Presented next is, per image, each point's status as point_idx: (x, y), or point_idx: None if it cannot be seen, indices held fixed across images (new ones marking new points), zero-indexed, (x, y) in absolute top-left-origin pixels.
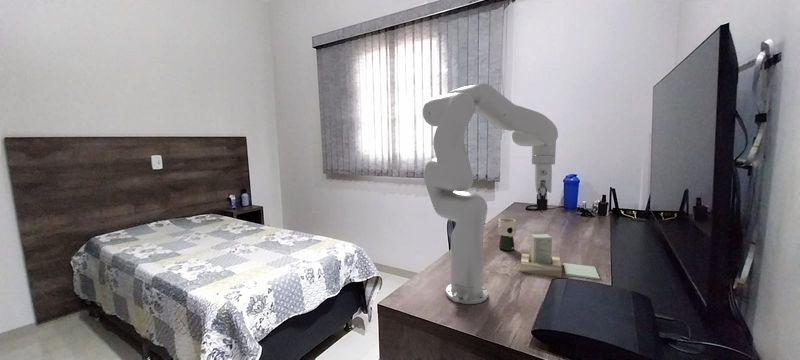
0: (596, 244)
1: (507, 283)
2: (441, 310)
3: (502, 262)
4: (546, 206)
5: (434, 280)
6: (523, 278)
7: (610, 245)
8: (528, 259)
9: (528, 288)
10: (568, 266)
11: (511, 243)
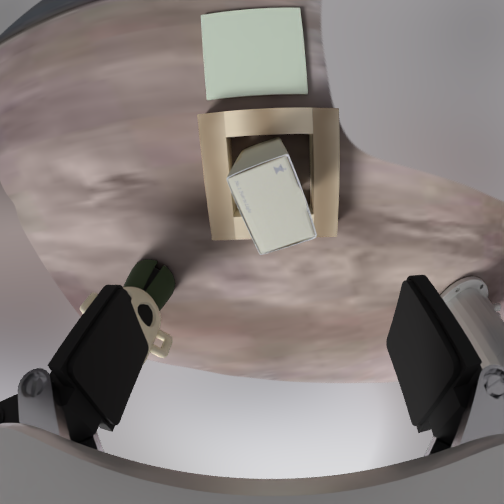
0: (12, 63)
1: (412, 250)
2: None
3: (274, 277)
4: (439, 305)
5: None
6: (376, 215)
7: (11, 37)
8: None
9: (428, 202)
10: (235, 83)
11: (155, 278)
